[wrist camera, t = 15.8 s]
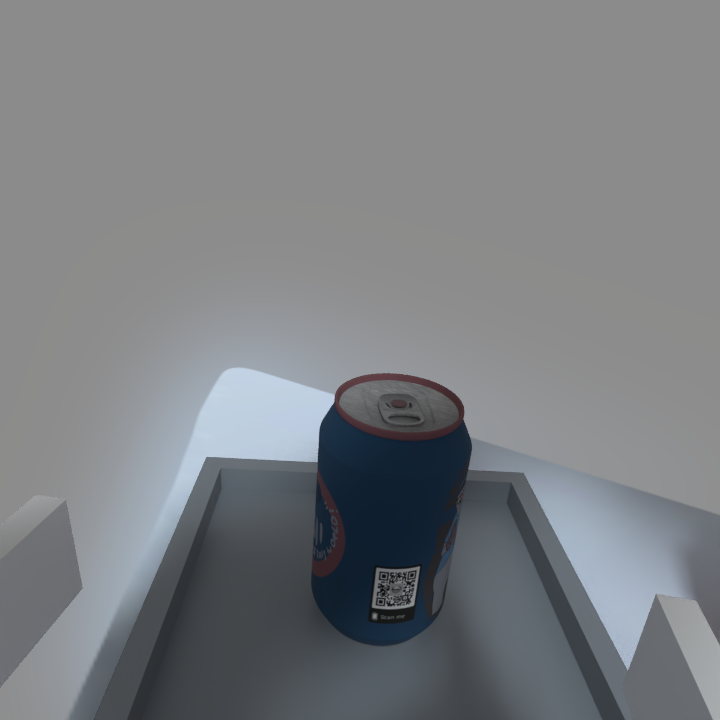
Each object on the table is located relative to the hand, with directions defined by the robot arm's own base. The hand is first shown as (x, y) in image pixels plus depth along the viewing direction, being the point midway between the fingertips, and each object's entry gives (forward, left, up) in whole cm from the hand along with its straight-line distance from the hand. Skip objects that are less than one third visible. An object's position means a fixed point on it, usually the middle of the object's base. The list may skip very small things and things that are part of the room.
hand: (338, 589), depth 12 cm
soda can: (-3, -12, -13) cm, 18 cm away
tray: (-2, -12, -14) cm, 19 cm away
